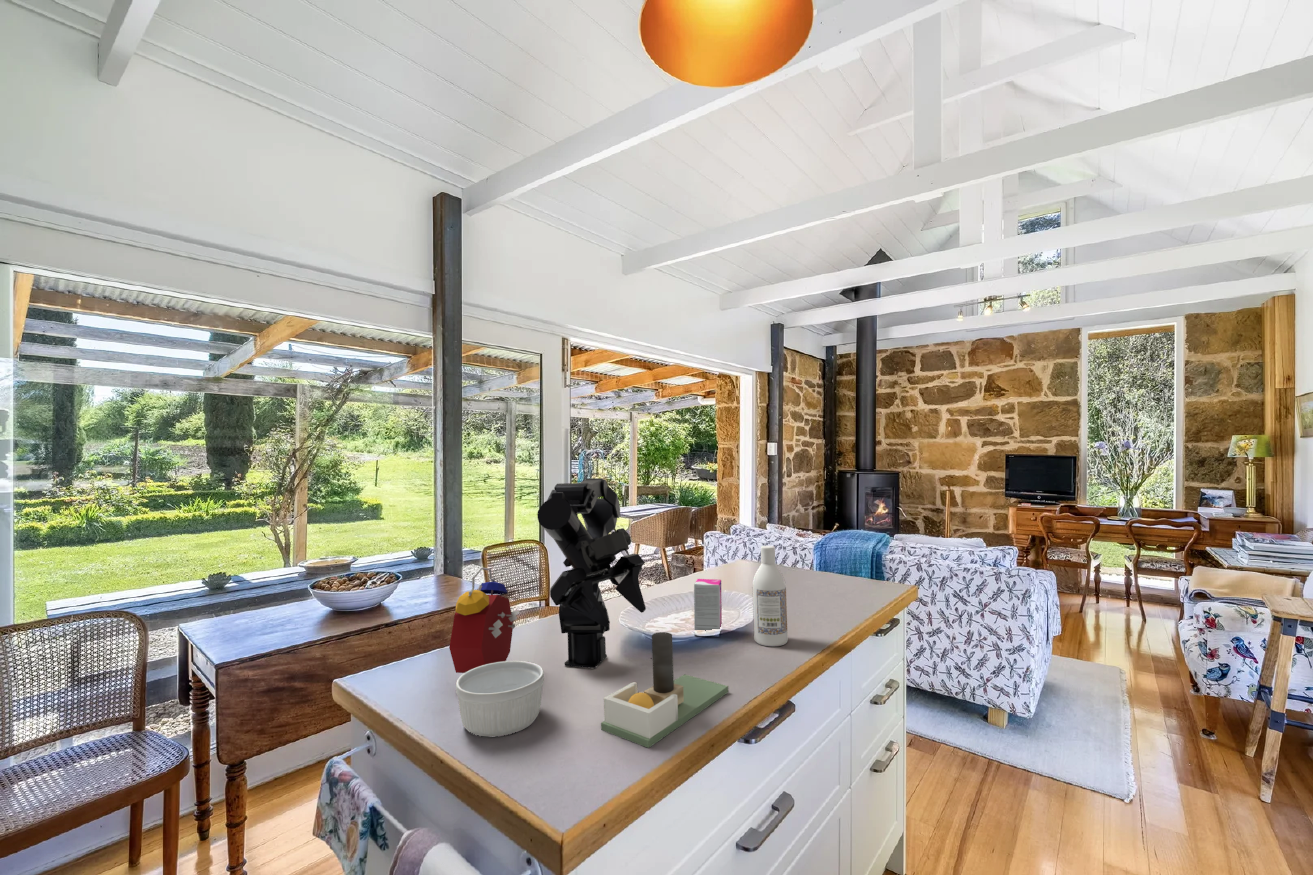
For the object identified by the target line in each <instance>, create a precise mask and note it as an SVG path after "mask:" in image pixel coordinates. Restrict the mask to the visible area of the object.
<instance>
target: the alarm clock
mask: <svg viewBox="0 0 1313 875" xmlns="http://www.w3.org/2000/svg"><path fill="white" fill-rule="evenodd" d="M481 571H488V573H489V574H488V575H489V581H487V582H486V581H485V582H481V584H479V585H478V588H477V589H475V581H476V580H475V578H476V577H477V576H478V575H479V574H480V573H481ZM471 580H472V581H471V583H472V584H471V585H472V586H471V589H470V590H468V591H465V592H464V593H462V594H461V595H460V596H458V599H457V601H456V604H455V613H454V617H453V621H452V622H453V623H452V628H451V635H450V641H449V645H448V646H449V652H450V656H451V659H452V664H453V667H454V672H455V673H457V674H464V673H466V672H467V671H469V670H471V669H474V668H476V667H479V666H482V665H486V664H490V663H496V662H503V661H507V659H508V657H509V654H510V653H511V646H512V638H513V630H514V629H515V627H516V625H515V623H514V621H516V620H517V619H518V616H517V615H519V614H520V611H519V610H518V609H515V610H513V611H512V609H511V602H510V599H509V598H507V597H505V596H502V595H507V594H508V590H507V588H506V586H505V584H504V583H501V582H498V581H495V580H496V578H495V577H492V569H491V568H489V567H480V569H479V570H478V571H477V572H476V574H475V575H474V576H473V577H472V578H471Z"/></svg>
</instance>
